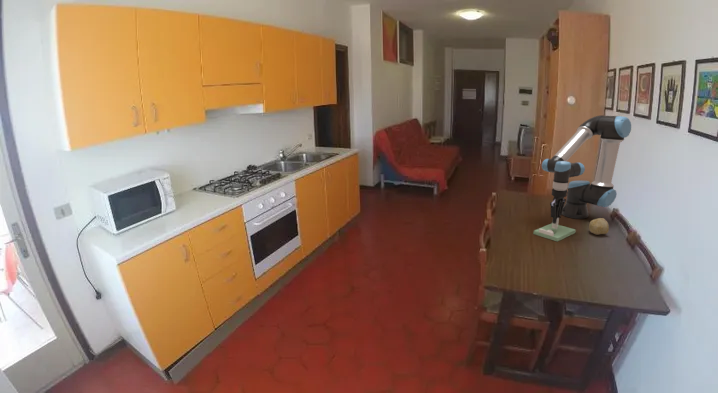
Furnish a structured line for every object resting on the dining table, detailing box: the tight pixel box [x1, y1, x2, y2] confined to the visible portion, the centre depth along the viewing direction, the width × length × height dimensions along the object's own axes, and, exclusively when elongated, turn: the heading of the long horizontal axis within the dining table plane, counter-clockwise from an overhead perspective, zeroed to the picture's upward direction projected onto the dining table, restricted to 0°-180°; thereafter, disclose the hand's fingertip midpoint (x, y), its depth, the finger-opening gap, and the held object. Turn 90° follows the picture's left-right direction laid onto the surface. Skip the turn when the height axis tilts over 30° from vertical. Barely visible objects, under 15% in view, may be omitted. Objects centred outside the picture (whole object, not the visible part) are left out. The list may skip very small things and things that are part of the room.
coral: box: [588, 217, 610, 236], centre depth 208 cm, size 10×10×10 cm
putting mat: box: [533, 222, 577, 242], centre depth 211 cm, size 20×14×4 cm
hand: (554, 228), depth 211 cm, fingers closed
